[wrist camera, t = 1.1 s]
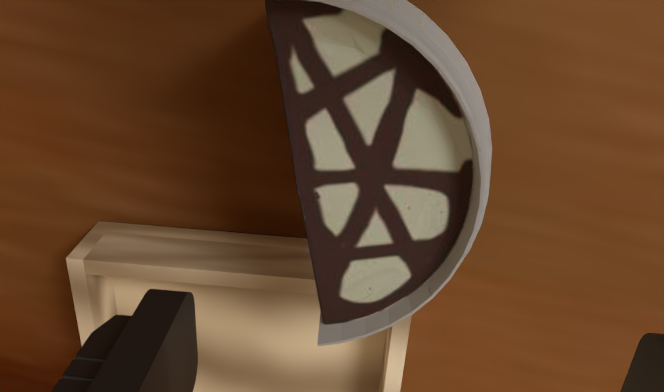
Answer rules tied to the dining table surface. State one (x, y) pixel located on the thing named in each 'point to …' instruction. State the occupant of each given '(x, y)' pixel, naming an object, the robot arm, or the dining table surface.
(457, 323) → the dining table surface
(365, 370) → the whitewashed wooden tray
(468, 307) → the dining table surface
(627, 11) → the dining table surface
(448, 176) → the food container
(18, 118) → the dining table surface
